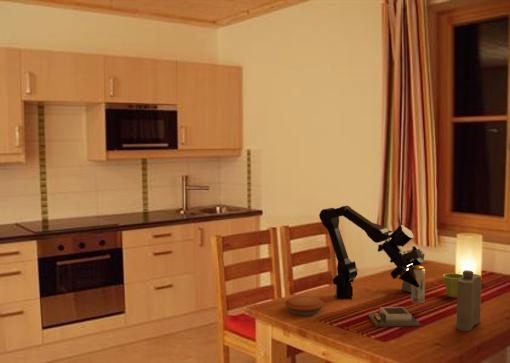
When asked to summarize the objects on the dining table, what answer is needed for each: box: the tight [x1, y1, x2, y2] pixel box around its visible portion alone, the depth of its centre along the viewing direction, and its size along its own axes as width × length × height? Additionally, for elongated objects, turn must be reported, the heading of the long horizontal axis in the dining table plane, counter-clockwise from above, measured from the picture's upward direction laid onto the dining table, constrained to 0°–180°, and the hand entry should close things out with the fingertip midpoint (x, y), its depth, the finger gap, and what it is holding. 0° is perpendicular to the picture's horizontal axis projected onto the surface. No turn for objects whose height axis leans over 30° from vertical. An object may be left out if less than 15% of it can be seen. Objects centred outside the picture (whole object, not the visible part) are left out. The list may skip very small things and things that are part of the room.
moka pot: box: [401, 246, 425, 293], centre depth 242 cm, size 10×15×20 cm, turn 152°
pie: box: [284, 295, 325, 317], centre depth 216 cm, size 15×16×5 cm
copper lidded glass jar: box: [410, 265, 426, 304], centre depth 212 cm, size 5×5×14 cm
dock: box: [368, 306, 421, 328], centre depth 204 cm, size 16×12×4 cm
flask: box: [456, 270, 482, 332], centre depth 198 cm, size 15×6×20 cm, turn 141°
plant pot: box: [442, 273, 463, 298], centre depth 235 cm, size 9×9×9 cm
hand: (421, 285), depth 211 cm, fingers closed on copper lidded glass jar, 5 cm apart
